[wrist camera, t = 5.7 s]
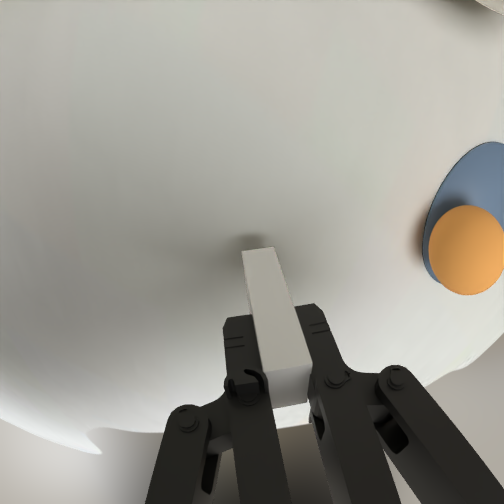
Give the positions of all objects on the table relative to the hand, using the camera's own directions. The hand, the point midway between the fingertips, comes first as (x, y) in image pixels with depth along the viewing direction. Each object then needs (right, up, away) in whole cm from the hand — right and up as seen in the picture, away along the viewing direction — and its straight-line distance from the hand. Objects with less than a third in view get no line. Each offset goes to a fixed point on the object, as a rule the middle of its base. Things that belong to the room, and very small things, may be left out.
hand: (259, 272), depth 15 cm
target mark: (+17, +3, +3) cm, 17 cm away
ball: (+13, +1, 0) cm, 13 cm away
